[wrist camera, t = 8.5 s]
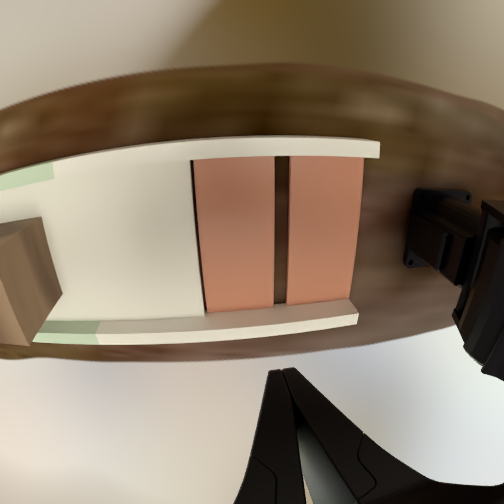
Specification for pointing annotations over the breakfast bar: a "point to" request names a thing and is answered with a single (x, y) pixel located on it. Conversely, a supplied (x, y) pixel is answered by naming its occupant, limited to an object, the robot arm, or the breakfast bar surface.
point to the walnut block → (25, 280)
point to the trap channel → (194, 237)
